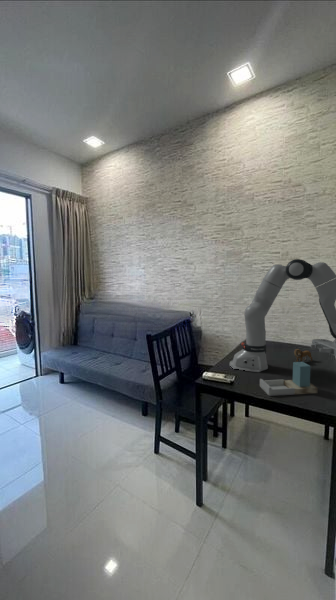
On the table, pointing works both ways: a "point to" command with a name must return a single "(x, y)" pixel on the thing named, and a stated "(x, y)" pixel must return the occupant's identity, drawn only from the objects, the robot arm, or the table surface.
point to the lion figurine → (302, 354)
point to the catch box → (276, 387)
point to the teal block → (301, 374)
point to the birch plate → (300, 389)
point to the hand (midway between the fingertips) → (315, 348)
